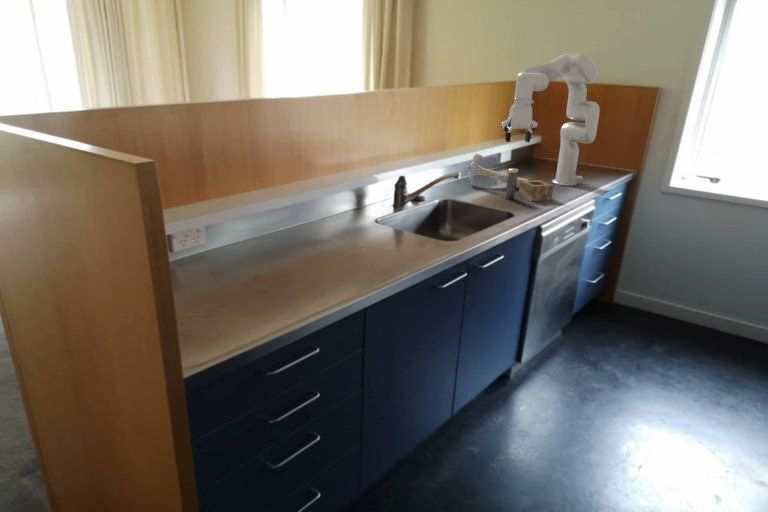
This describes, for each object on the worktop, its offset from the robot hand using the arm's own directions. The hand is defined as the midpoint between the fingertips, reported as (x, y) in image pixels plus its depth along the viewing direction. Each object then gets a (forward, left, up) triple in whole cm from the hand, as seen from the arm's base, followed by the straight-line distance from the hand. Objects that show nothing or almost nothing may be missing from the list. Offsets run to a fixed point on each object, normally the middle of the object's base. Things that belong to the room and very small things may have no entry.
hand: (517, 141), depth 241 cm
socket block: (-11, +2, -26) cm, 29 cm away
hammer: (-4, -21, -27) cm, 34 cm away
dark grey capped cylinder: (+2, +2, -26) cm, 26 cm away
